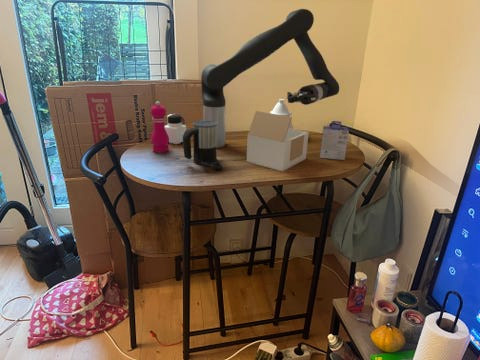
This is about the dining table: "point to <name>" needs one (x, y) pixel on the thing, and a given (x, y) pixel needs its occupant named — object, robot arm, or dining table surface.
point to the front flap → (270, 126)
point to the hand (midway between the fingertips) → (290, 100)
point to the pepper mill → (159, 129)
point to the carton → (278, 150)
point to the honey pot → (282, 110)
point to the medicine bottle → (175, 128)
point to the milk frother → (202, 143)
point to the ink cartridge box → (334, 141)
